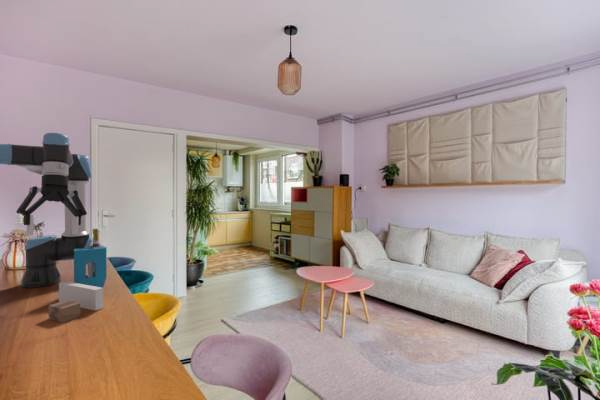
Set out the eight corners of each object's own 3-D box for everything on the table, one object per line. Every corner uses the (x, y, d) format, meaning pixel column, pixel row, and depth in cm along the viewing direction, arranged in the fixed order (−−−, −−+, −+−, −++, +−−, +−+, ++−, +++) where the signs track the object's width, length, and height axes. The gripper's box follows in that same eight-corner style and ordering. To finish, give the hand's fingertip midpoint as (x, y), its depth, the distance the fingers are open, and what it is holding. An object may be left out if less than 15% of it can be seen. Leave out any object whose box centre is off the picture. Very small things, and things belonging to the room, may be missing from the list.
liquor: (106, 284, 150) (106, 227, 149) (104, 288, 143) (104, 229, 143) (88, 286, 147) (88, 228, 146) (85, 290, 140) (85, 230, 140)
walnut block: (48, 319, 109) (48, 305, 109) (67, 313, 114) (67, 299, 114) (62, 323, 106) (61, 308, 106) (80, 316, 111) (80, 303, 111)
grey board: (59, 302, 125) (58, 283, 124) (66, 300, 127) (66, 281, 127) (95, 310, 116) (95, 290, 116) (103, 308, 119) (103, 287, 119)
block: (74, 296, 132) (73, 250, 132) (74, 293, 136) (73, 249, 136) (106, 291, 139) (106, 248, 139) (105, 288, 143) (105, 246, 143)
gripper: (16, 167, 97) (12, 234, 94) (97, 179, 119) (97, 233, 117) (5, 171, 101) (2, 236, 98) (86, 182, 123) (85, 234, 120)
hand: (53, 234), depth 107 cm, fingers open, 13 cm apart
